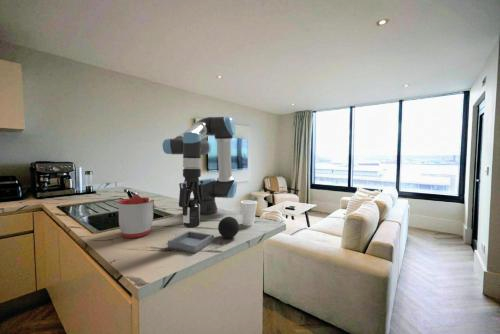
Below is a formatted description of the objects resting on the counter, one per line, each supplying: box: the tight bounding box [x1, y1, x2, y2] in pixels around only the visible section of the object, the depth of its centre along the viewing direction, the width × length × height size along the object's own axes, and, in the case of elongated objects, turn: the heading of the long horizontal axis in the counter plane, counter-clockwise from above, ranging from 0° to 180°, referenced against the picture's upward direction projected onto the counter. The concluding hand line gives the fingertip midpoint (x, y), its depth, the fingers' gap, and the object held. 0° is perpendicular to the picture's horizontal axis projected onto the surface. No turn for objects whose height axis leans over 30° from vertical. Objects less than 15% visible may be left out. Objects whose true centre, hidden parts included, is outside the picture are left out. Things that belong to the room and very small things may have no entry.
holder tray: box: [167, 230, 215, 255], centre depth 97 cm, size 14×14×3 cm
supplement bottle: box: [183, 197, 201, 229], centre depth 96 cm, size 7×7×12 cm
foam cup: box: [240, 199, 258, 227], centre depth 126 cm, size 10×9×13 cm
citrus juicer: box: [117, 193, 158, 239], centre depth 108 cm, size 16×17×20 cm
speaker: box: [217, 216, 240, 239], centre depth 105 cm, size 10×10×10 cm
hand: (191, 220), depth 96 cm, fingers closed on supplement bottle, 7 cm apart
